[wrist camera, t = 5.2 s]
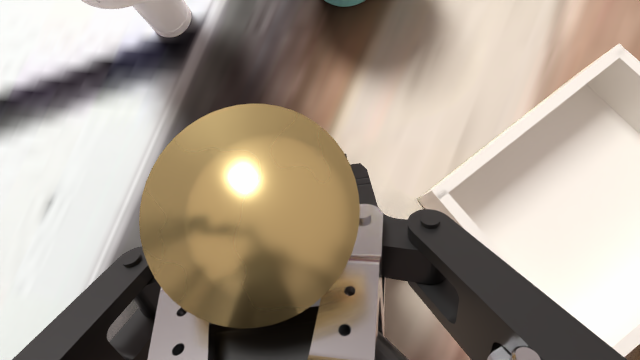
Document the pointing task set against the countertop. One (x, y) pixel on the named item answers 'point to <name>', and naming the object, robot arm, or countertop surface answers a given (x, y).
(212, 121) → the gold mushroom peg
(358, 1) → the cupcake
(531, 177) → the tray
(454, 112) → the countertop surface
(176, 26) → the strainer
